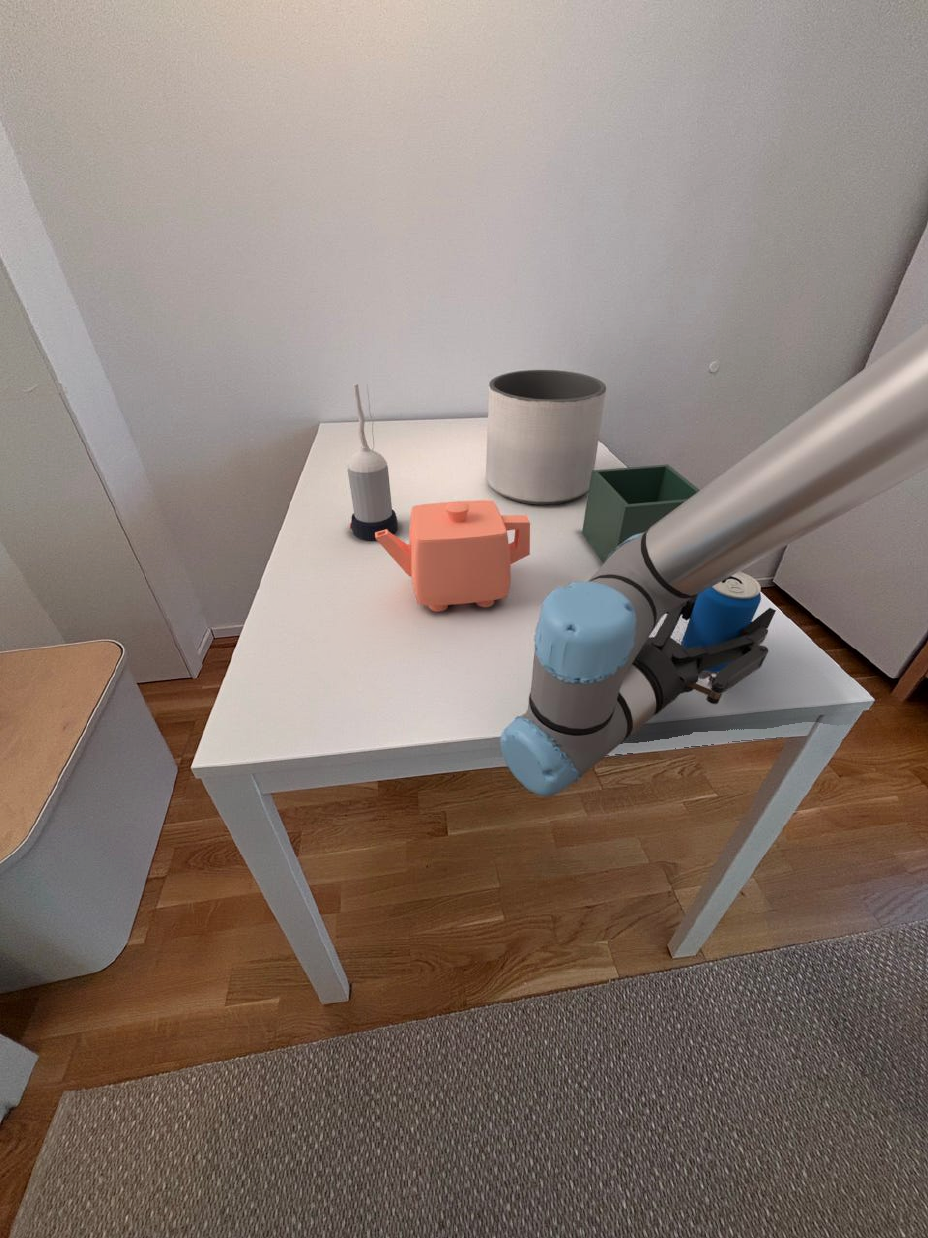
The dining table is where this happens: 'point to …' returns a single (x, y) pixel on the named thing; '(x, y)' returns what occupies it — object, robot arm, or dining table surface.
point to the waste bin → (630, 503)
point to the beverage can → (722, 612)
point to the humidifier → (369, 487)
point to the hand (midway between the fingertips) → (740, 604)
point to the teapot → (459, 552)
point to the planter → (543, 434)
